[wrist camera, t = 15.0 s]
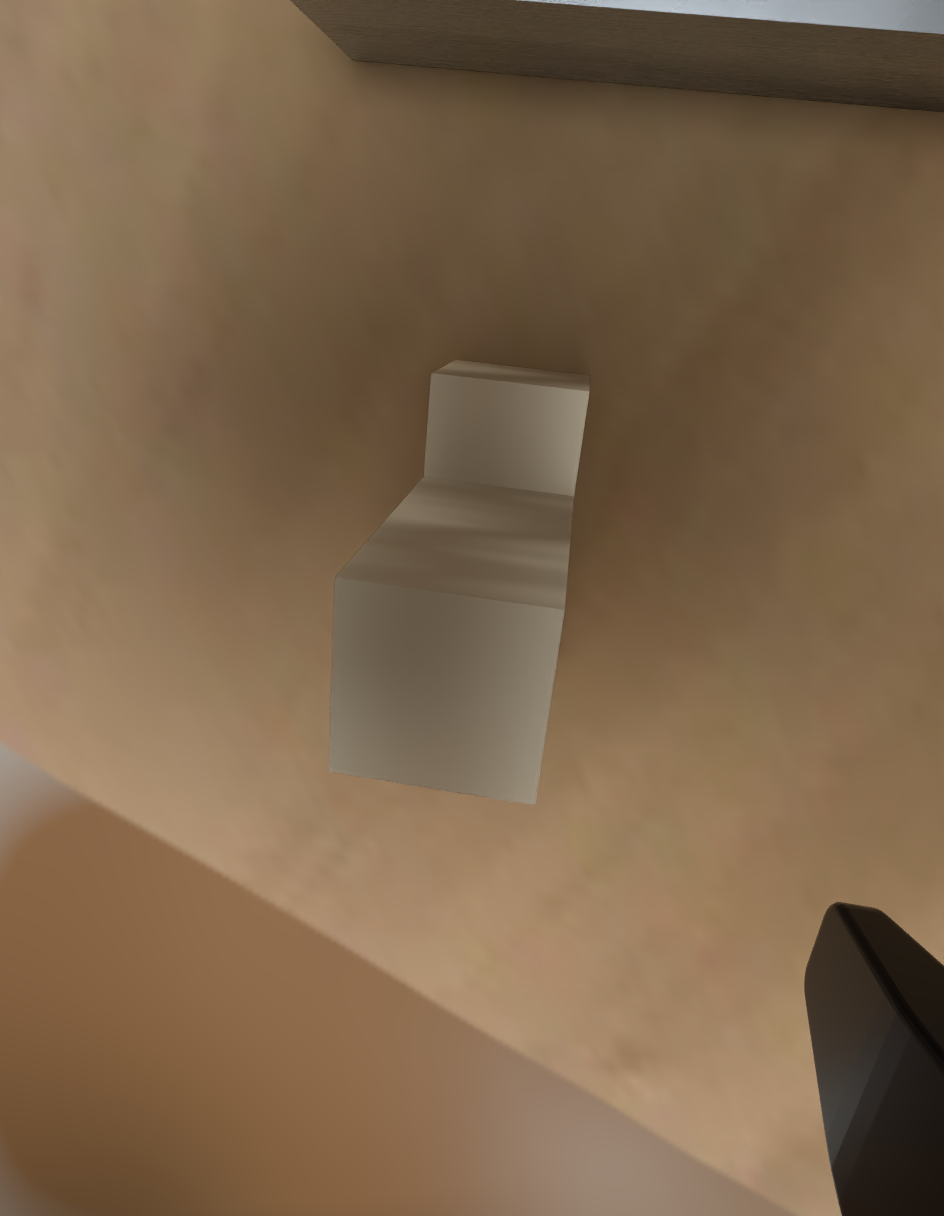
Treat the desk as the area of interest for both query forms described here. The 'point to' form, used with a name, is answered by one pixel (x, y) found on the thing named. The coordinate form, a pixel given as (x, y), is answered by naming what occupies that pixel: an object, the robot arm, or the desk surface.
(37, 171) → the desk surface
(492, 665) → the pale step bench
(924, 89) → the slot rail
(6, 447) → the desk surface
